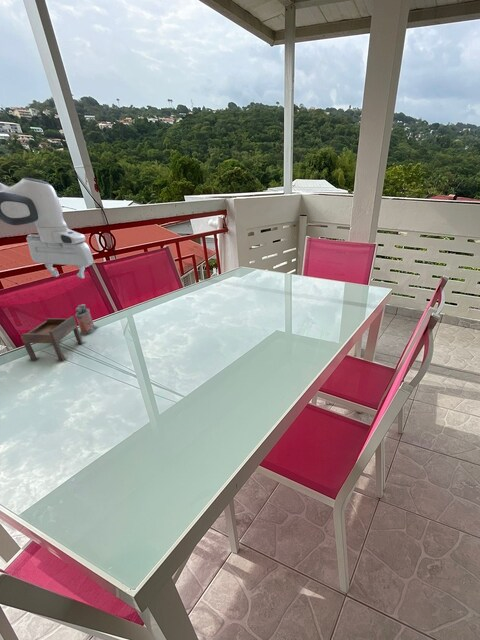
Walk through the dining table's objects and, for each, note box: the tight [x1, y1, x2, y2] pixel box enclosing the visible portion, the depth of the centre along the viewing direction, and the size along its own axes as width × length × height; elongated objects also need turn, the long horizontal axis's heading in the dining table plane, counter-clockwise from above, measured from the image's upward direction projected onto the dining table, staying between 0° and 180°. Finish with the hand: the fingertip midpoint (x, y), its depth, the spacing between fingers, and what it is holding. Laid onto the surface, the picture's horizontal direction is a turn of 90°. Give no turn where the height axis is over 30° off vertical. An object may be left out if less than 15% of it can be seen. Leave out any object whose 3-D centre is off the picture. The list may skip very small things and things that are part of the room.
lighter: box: [74, 303, 96, 336], centre depth 127 cm, size 8×3×10 cm, turn 6°
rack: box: [20, 315, 84, 362], centre depth 112 cm, size 10×14×10 cm
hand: (68, 277), depth 120 cm, fingers open, 8 cm apart
